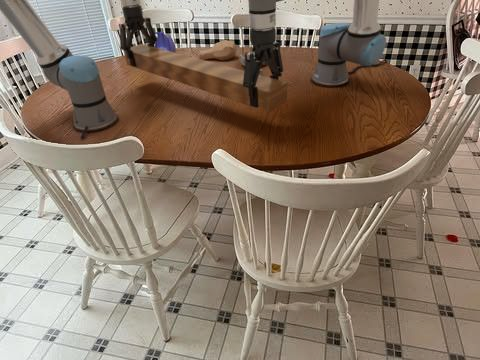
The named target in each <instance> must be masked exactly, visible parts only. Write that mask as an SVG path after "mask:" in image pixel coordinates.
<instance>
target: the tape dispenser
mask: <svg viewBox="0 0 480 360" xmlns="http://www.w3.org/2000/svg"><path fill="white" fill-rule="evenodd" d="M245 61H246V60H245V54H242V53H241V54H240V55H239V63H240V64H242V66H243V67H245ZM256 62H260V61H257V60H256ZM265 65H267V62H266V60H265V61H264V62H263V65H262V66H265ZM262 74H263V69H262V68H260V72H259V75H262Z"/></svg>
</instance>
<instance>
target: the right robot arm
mask: <svg viewBox="0 0 480 360" xmlns="http://www.w3.org/2000/svg"><path fill="white" fill-rule="evenodd" d="M282 1H284V0H248V24H249V28H250V30H249V41H250V43H251V45H252V48H251V51H249V52H248V51H246V52H245V53H244V55H245V60H246V61H245V66H244V70H243V71H244V79H243V86H244V87H247V88H248V92H249V97H250V106H249V107H252V106H253V107H252V108H255V107H256V108H255V109H258V108H257V107H258V89H257V87H255V86H256V83H257V79H258V75H259V72H260V69H262V66H264V65H263V62H264V61H265V60H266V62H267V63H266V65H267V66H268V68H269V71H270V73H271V74H270V75H269V78H273V79H277V80H280V79H279V77H282V73H283V72H284V67H283V60H282V53H281V42H279V41H276V40H277V28H276V26H277V24H276V20H277V19H276V15H277V14H276V11H277V3H278V2H282ZM352 6H353V8H352V23H350V22H334V23H329V24H325V25H323V26H322V27H321V28H320V32H319V37H318V52H317V53H318V54H317V64H316V66H315V67H314V68H315V69H314V71H313V73H312V75H311V76H312V78H311V82H312V83H314V84H315V85H317V86H321V87H326V88H338V87H341V86H345V85H346V84H348V83H349V75H350V74H353V73H355V72H356V70H357V69H360V68H367V67H378V66H381V65H382V64H383V63H384V62H385V63H388V60H387V59H386V58H384V59H382V60H381V62H379V63H377V62H378V61H379V60H380V58H381V57H382V56H383V53H384V51H385V49H386V46H387V38H386V36H385V35H384V34H382V33H381V31H382V25H380V23H378V16H379V7H380V0H353V5H352ZM256 60H257V61H260V62H256ZM347 62H350V63H352V64H357V65H358V66H356V67H354V69H353V70H351V71H348V67H347Z"/></svg>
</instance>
